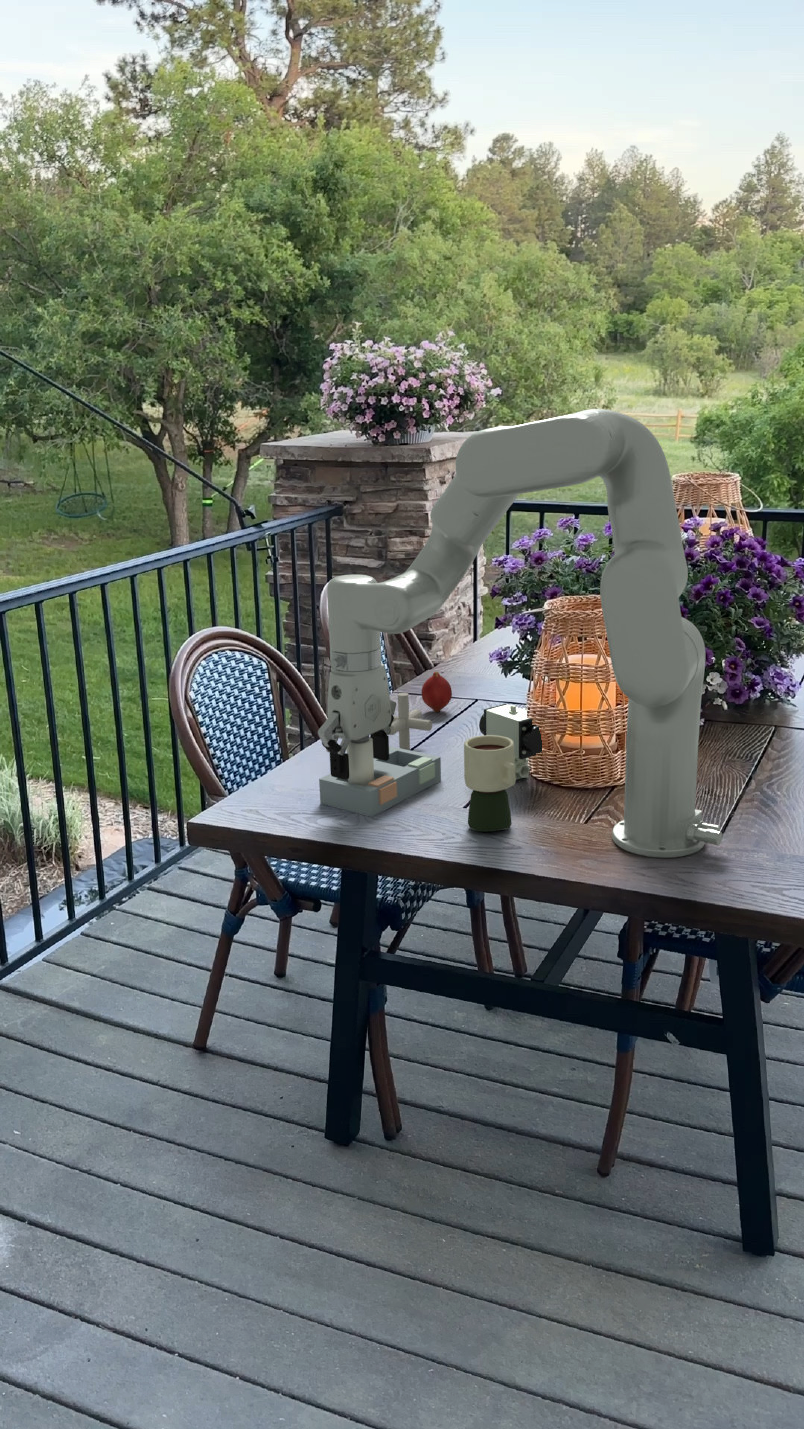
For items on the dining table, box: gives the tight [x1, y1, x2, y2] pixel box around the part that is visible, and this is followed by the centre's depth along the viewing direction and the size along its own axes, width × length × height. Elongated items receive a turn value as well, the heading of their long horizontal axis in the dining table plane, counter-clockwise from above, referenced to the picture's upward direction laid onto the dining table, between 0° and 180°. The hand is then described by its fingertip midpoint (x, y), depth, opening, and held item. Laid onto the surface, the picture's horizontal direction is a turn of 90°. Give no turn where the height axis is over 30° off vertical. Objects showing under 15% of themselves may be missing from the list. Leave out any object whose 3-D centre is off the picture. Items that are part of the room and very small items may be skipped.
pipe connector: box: [388, 692, 433, 751], centre depth 200 cm, size 10×10×10 cm
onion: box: [421, 671, 453, 713], centre depth 221 cm, size 6×6×8 cm
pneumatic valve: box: [478, 703, 542, 782], centre depth 186 cm, size 6×12×12 cm, turn 37°
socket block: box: [318, 745, 442, 818], centre depth 182 cm, size 10×18×4 cm, turn 143°
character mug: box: [463, 735, 516, 833], centre depth 166 cm, size 11×7×13 cm, turn 35°
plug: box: [346, 735, 374, 786], centre depth 177 cm, size 4×4×11 cm
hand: (360, 768), depth 178 cm, fingers open, 9 cm apart
